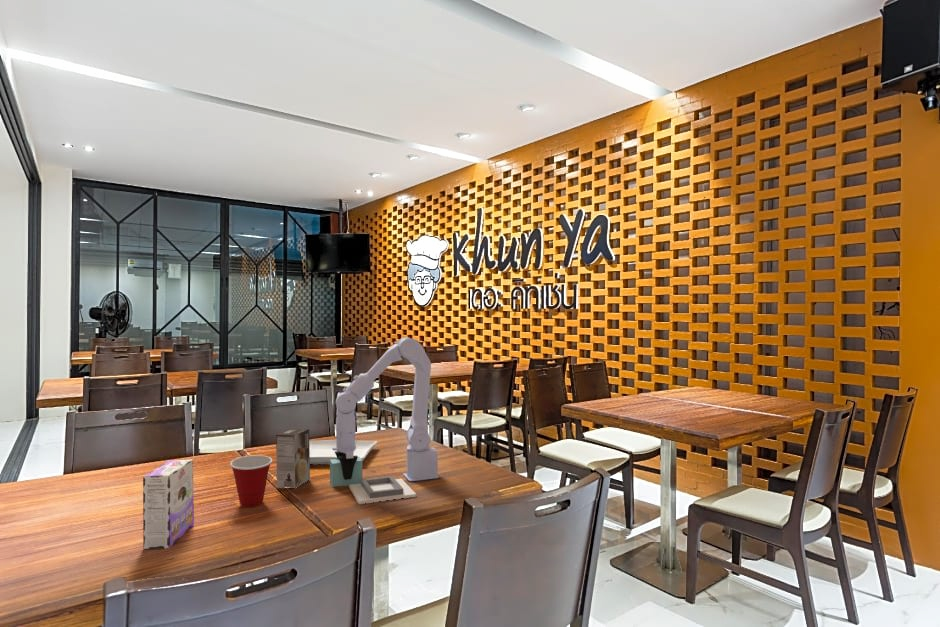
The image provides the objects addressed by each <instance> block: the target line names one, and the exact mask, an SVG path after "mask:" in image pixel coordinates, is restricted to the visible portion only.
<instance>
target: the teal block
mask: <svg viewBox="0 0 940 627" xmlns="http://www.w3.org/2000/svg"><path fill="white" fill-rule="evenodd" d="M363 479H364V478H363V461H362V459H361V458H360V457H358V458H357V461H356V463H355V465H354V469H353V474H352V478H351V479H347V480H344V477H343V471H342V466H341V463H340V460H339V459H332V460H330V465H329V483H330V485H331V487H332V488H336V487H337V486H338V487H346V486H349V485H352V484H361V480H363Z"/></svg>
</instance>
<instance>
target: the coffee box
mask: <svg viewBox="0 0 940 627" xmlns="http://www.w3.org/2000/svg"><path fill="white" fill-rule="evenodd" d="M275 438H276V439H275V443H276V444H275V445H276V446H275V449H276V450H275V452H276V454H275V455H276V463H275V464H276V488H277V489H282V488H281V487H290V488H296V487H298V486H300V485H301V484H303V483H304V484H306V483H308V482H309V481H311V465H310V450H309V441H310V429H309V428H290V429H288V430H285V431H282V432H279V433H278V434H276V435H275ZM308 480H309V481H308ZM307 481H308V482H307ZM305 482H306V483H305ZM304 484H303V485H304ZM301 486H302V485H301ZM301 486H300V487H301ZM298 488H299V487H298ZM296 489H297V488H296Z"/></svg>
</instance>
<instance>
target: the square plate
mask: <svg viewBox="0 0 940 627" xmlns="http://www.w3.org/2000/svg"><path fill="white" fill-rule="evenodd" d="M355 445H356V449H355V451H354V452H353V456H358V457H360V458H361V459H362V462H363V461H364V460H365V459H366V457H367V456H368V454H369V453H370V452H371V451H373V449H374V448H375V447H376V445H378V441H377V440H356V439H355ZM332 447H336V439H327V440H326V439H325V440H309V450H310V464H321V465H320V466H323V465H322V464H330V460H332V459H337V456H336V454H335V451H337V450H335V451H333V450H332Z"/></svg>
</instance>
